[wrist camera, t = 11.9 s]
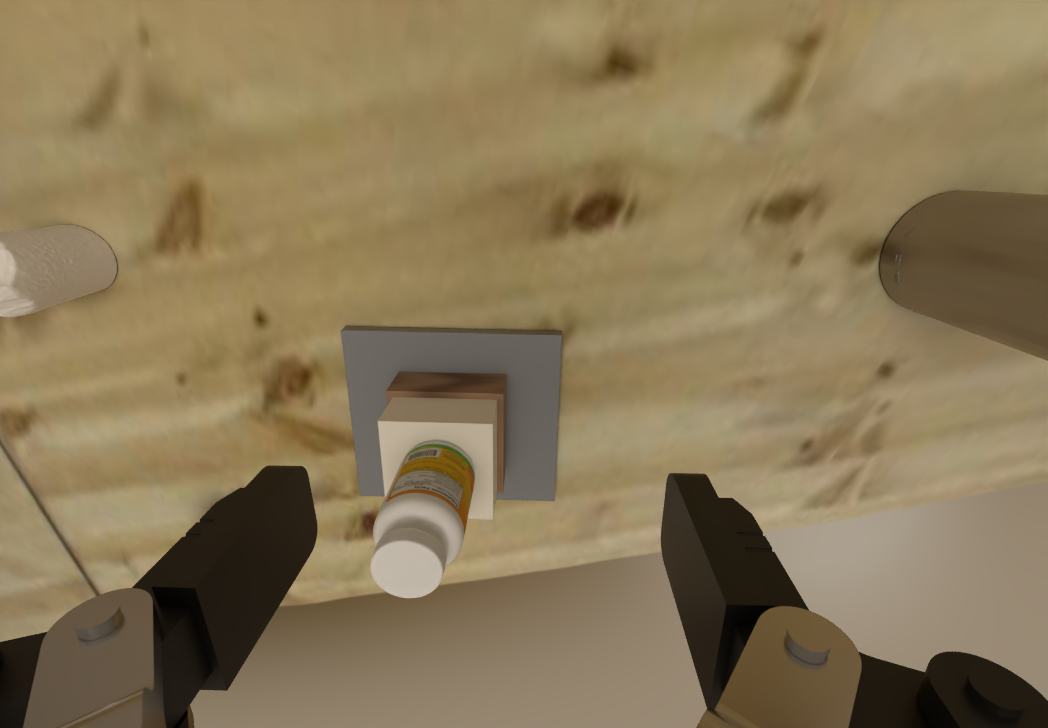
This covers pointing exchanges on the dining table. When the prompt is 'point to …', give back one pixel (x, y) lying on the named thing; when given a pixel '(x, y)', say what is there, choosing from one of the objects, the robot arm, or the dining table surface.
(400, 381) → the walnut block
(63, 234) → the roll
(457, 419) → the off-white block
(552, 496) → the grey tile
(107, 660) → the robot arm
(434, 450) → the supplement bottle
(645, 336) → the dining table surface
